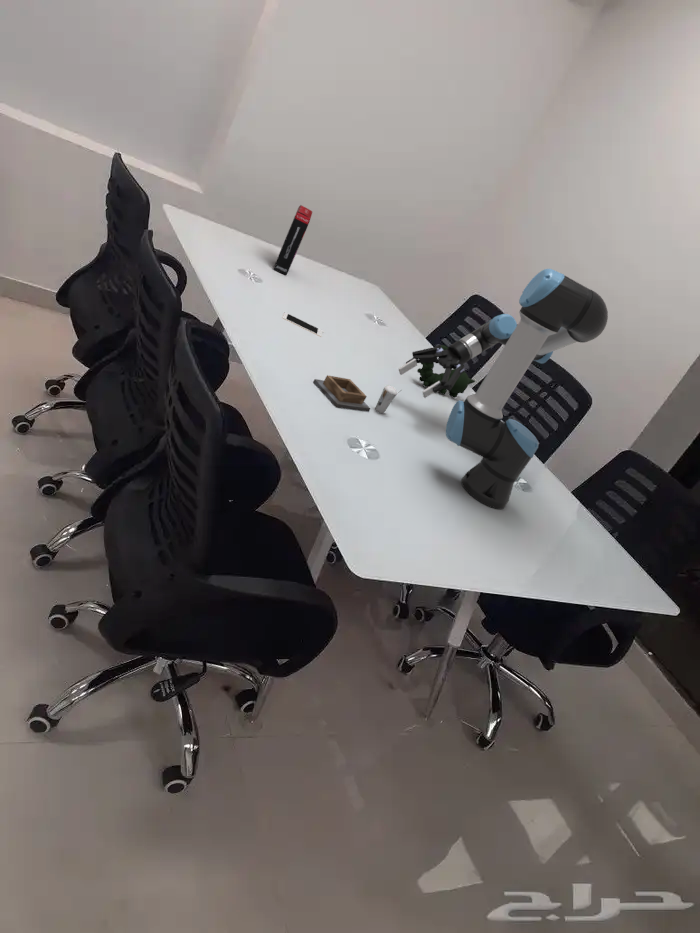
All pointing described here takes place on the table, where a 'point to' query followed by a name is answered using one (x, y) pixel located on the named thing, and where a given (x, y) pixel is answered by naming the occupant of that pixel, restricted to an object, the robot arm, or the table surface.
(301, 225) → the graphics card box
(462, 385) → the toy figurine
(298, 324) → the cell phone
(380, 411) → the milkshake
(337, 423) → the table surface
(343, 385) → the socket board
